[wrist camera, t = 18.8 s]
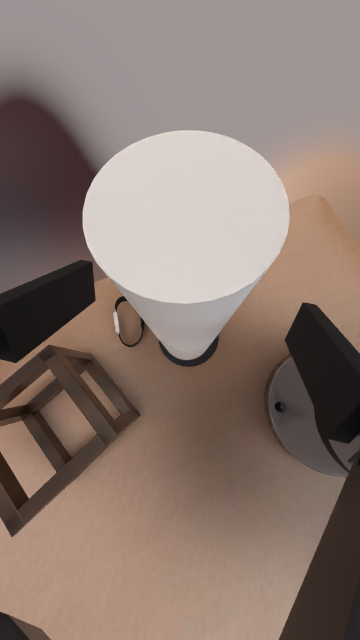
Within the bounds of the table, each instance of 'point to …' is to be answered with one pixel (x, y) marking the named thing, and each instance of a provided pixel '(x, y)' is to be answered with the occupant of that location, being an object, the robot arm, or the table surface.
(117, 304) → the watch
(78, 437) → the table surface
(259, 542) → the table surface
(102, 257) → the cylindrical container
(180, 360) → the coaster
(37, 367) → the rack
